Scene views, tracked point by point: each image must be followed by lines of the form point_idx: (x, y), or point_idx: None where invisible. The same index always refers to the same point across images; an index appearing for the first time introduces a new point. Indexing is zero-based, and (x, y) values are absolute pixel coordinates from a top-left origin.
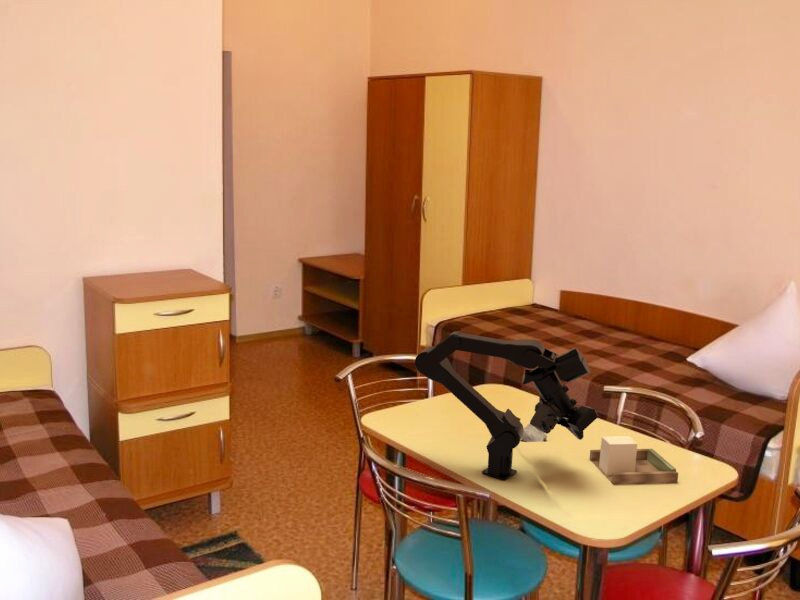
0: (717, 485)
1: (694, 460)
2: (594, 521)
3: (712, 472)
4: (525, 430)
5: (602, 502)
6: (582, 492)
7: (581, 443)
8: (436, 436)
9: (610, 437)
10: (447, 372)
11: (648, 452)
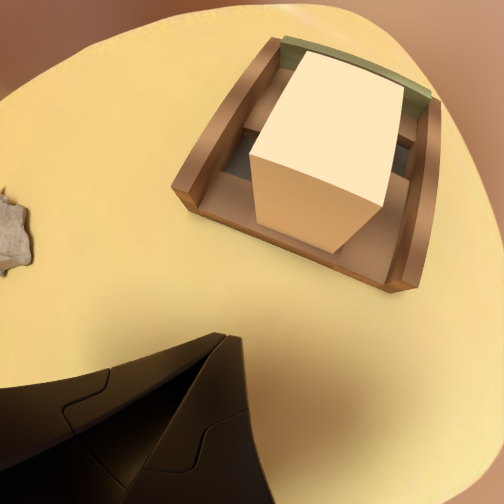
0: (413, 62)
1: (299, 14)
2: (463, 449)
3: (358, 29)
4: None
5: (426, 380)
6: (353, 398)
7: (85, 135)
8: None
9: (286, 119)
10: None
11: (286, 50)
